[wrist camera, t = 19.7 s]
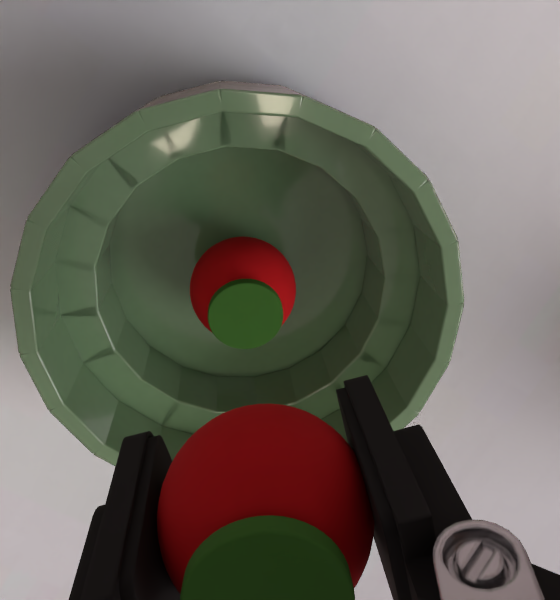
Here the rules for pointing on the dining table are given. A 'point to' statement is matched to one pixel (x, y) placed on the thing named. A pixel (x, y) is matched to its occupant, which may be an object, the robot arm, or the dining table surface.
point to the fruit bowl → (215, 228)
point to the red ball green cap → (243, 291)
